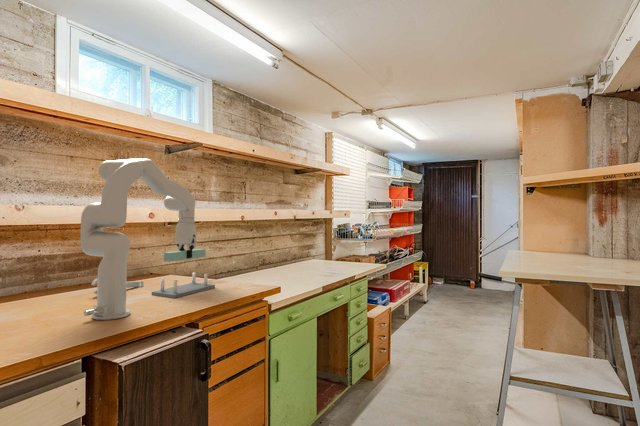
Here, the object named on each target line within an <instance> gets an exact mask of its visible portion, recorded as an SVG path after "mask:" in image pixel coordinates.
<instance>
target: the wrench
mask: <svg viewBox="0 0 640 426" xmlns="http://www.w3.org/2000/svg"><path fill="white" fill-rule="evenodd" d="M90 285H91V286H97V285H98V277H97V278H95V279H93V280H92V281H91V284H90ZM143 286H144V281H143V280H135V281H126V289H129V288H142V287H143ZM92 293H93V294H95V295H97V289H95V290H93V291H92Z"/></svg>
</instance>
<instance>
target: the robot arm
mask: <svg viewBox="0 0 640 426" xmlns="http://www.w3.org/2000/svg"><path fill="white" fill-rule="evenodd" d="M98 175H99V176H100V178H101V179H102V180H104V181H105V183H104V185H103V187H102V190H101V202H91V203H89V204H87V205H86V206H85V207H84V208H83V211H81V217H80V248H81V251H82V252H83V253H84V254H85V255H87V256H91V257H102V260H101V261H100V262H99V264H98V268H97V278H98V284H97V285H96V286H97V289H96V290H97V294H96V296H97V297H96V305H93V308H92V309H86V310H84V311H83V316H85V317H87V316H91V318H92V319H94V320H98V321H99V320H100V321H111V320H116V319H122V318H124V317H125V318H126V317H128V316H129V315H131V309H129V308H127V288H126V282H127V274H128V273H127V270H128V269H127V265H128V258H129V252H130V249H131V241H130V240H131V239H130V238H129V236H128V235H126V234H125V233H122V232H119V231H107V230H106V231H104V229H107V228H108V229H117V228H121V227H124V226H125V224H126V222H127V213H128V210H127V209H128V195H129V190H130V188H131V187H132V185H133V184H134V183H135V182H136V181H138V180H139V179H140V180H142V181H143V182H144V183H145V184H146V185H147V187H149V188H150V189H151V191H152V192H154V193H156V194H158V195H161V196H165V198H164V200H163V204H164V205H163V206H164V207H165V208H166V210H169V211H174V212H175V211H176V212H177V211H178V218H177V221H178V223H177V224H176V227H175V234H174V235H175V236H174V244H175V245H176V246H177V249H178V251H183V250H187V258H192V250H193V249H195V247H197V245H198V244H199V243H198V242H197V228H196V224H195V218H196V217H195V209H196V198H195V197H194V195H193V194H192V193H191V192H190V190H188V188H186V187H185V186H183V185H182V184H179V183H177V182H176V181H174V180H171V179H170V178H169V177H168V176H167V175H166V174H165V173H164V172H163V171H162V170H161V169H160V167H159V166H158V165H157V164H156V163H155V162H154V161H153V160H151V158H126V159H116V160H115V159H114V160H111V159H109V160H105V161H102V162H101V163H100V165H99V166H98ZM185 246H187V249H185Z"/></svg>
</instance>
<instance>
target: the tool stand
mask: <svg viewBox="0 0 640 426" xmlns="http://www.w3.org/2000/svg"><path fill="white" fill-rule="evenodd" d="M196 275H197V273H196V272H195V271H194V272H192V277H191V279H192V280H191V281H192V282H189V283H184V284H180V285H178V279H173V286H172V287H168V288H165V281H166V280H165V278H163V277H162V278H160V289H158V290H155V291H151V296H154V297H155V296H156V297H162V298H163V297H164V298H170V299H177V298H180V297H184V296H185V297H186V296H188V295H193V294H196V293H200V292H204V291H207V290H211V289H215V287H216V285H215V284H212V283H208V280H209V279H208V273H204V274H203V275H204V277H203V279H204V280H203V282H197V281H196V277H197V276H196Z"/></svg>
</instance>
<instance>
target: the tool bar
mask: <svg viewBox="0 0 640 426" xmlns="http://www.w3.org/2000/svg"><path fill="white" fill-rule="evenodd" d="M187 250H188V249H185V250H183V251H179V250H175V251H167V252H165V251H164V252H163V262H170V263H171V262H176V261H178V262H179V261H185V260H191V259H192V260H193V259H200V258H205V257H206V248H193V250H192V258H187Z"/></svg>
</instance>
